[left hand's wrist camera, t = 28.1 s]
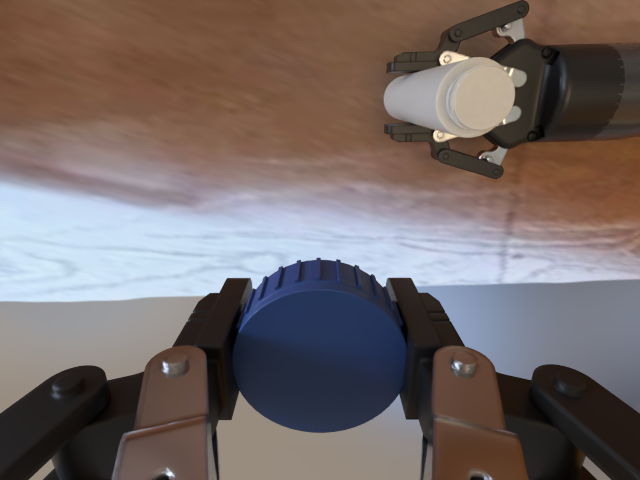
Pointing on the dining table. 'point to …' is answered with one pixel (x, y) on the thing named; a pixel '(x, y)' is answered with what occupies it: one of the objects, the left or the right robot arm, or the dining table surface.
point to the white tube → (453, 97)
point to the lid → (319, 347)
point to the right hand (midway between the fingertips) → (387, 99)
